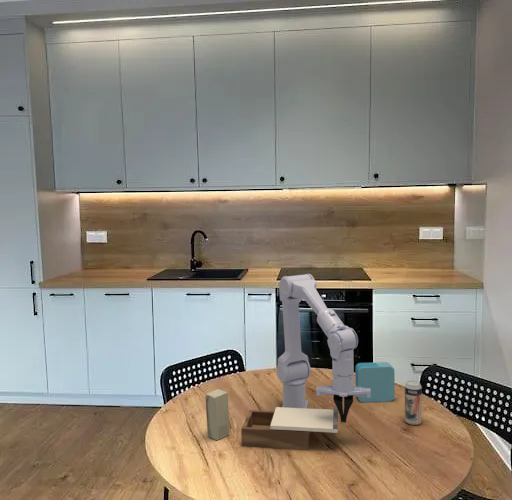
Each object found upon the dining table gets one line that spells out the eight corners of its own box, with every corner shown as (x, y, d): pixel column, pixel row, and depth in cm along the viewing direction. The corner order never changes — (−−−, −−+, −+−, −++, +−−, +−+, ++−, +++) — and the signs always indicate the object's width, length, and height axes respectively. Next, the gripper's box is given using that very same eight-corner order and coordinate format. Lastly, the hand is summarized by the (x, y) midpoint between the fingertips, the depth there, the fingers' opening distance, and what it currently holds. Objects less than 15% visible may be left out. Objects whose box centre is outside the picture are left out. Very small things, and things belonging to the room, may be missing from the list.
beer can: (401, 422, 144) (401, 383, 142) (409, 417, 147) (409, 379, 146) (417, 427, 140) (417, 387, 139) (424, 421, 144) (424, 382, 143)
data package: (390, 396, 163) (390, 361, 162) (394, 401, 159) (394, 366, 158) (355, 397, 163) (355, 362, 162) (358, 402, 159) (358, 367, 158)
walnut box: (250, 426, 144) (249, 410, 144) (310, 429, 141) (310, 412, 141) (242, 446, 132) (241, 428, 132) (307, 450, 129) (307, 432, 129)
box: (220, 430, 142) (218, 388, 141) (230, 435, 139) (228, 391, 138) (206, 436, 138) (204, 393, 137) (216, 441, 135) (214, 397, 134)
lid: (276, 410, 142) (275, 403, 142) (337, 413, 139) (337, 405, 139) (270, 429, 130) (270, 421, 130) (337, 432, 127) (337, 424, 127)
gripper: (315, 377, 129) (316, 426, 130) (371, 379, 126) (371, 428, 128) (316, 368, 136) (317, 414, 137) (369, 370, 133) (369, 417, 135)
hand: (343, 420), depth 133 cm, fingers closed
